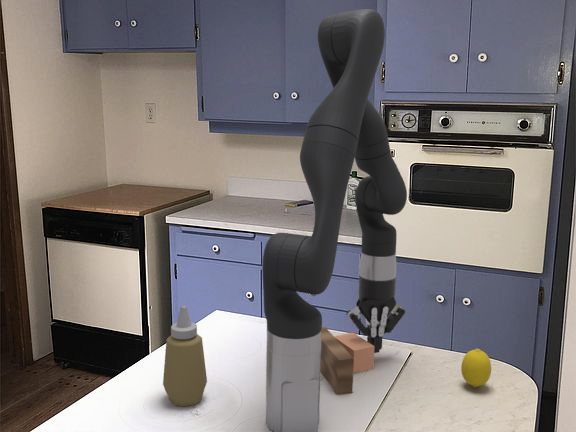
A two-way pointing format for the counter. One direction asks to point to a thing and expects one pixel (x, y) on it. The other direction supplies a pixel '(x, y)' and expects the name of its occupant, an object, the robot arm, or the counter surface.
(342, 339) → the terracotta block
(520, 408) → the counter surface
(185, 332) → the squeeze bottle
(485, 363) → the lemon
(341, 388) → the walnut plank
